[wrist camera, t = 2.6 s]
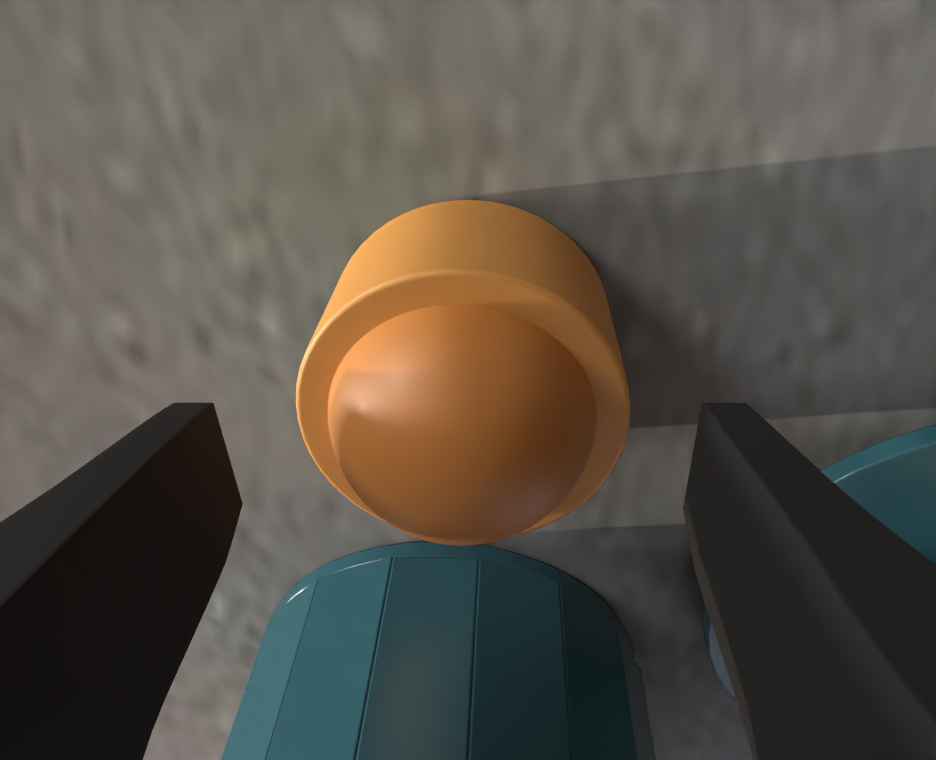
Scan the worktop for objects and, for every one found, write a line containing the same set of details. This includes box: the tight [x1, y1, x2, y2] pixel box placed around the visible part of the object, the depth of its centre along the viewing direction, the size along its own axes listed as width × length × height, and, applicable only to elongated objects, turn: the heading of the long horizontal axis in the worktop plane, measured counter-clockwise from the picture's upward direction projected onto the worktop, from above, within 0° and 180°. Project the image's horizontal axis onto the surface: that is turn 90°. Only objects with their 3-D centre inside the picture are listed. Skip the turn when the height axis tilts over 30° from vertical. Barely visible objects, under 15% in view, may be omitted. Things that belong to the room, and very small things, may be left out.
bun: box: [296, 200, 631, 546], centre depth 12 cm, size 5×5×5 cm
